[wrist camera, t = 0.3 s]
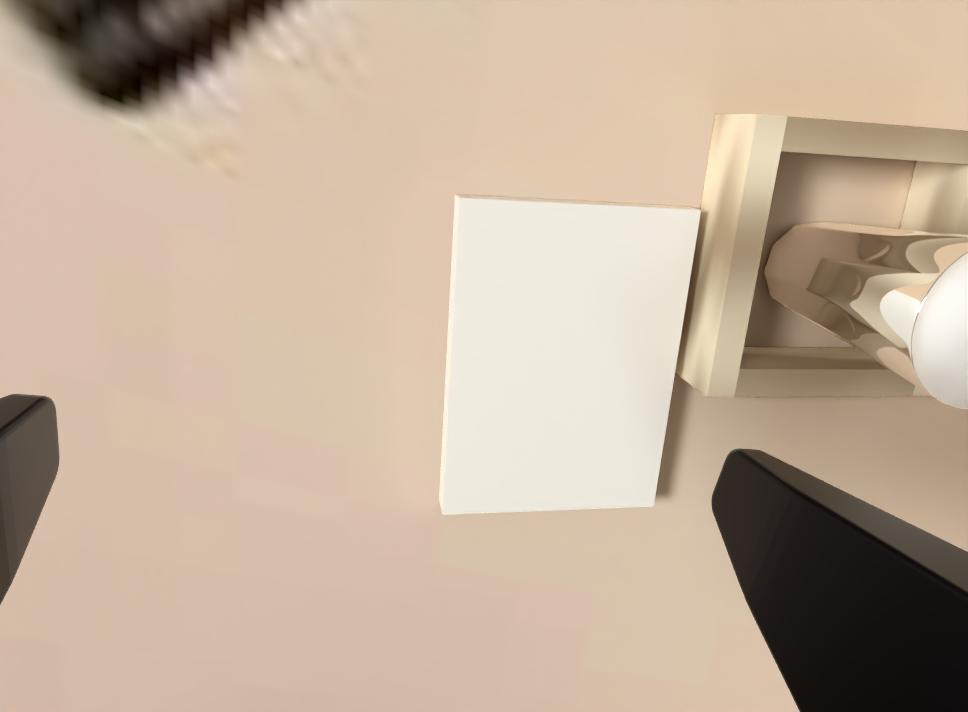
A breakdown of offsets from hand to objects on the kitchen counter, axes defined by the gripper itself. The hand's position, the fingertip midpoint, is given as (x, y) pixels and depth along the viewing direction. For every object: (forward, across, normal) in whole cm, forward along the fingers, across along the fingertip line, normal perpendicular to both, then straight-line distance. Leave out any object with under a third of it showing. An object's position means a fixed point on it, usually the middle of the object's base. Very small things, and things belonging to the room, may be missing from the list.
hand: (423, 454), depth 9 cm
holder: (+14, -15, 0) cm, 21 cm away
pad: (+14, -7, +4) cm, 16 cm away
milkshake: (+14, -15, 0) cm, 21 cm away
